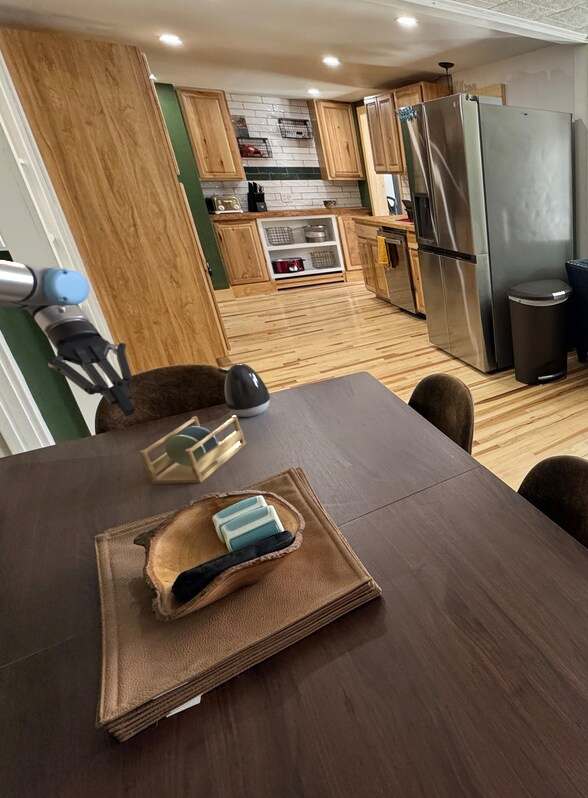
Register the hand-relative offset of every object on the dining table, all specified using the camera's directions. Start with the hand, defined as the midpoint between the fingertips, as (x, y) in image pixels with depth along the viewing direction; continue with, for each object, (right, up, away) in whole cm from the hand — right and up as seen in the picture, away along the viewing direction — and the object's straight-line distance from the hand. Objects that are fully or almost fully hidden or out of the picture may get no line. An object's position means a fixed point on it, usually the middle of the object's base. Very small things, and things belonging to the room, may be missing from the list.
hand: (130, 412), depth 105 cm
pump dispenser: (+3, -3, +32) cm, 32 cm away
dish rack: (+11, -12, +6) cm, 18 cm away
